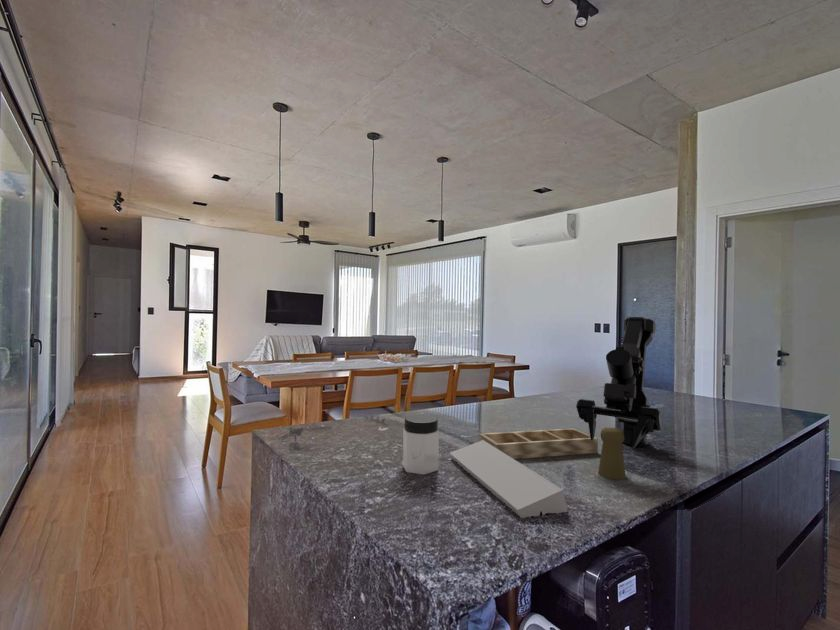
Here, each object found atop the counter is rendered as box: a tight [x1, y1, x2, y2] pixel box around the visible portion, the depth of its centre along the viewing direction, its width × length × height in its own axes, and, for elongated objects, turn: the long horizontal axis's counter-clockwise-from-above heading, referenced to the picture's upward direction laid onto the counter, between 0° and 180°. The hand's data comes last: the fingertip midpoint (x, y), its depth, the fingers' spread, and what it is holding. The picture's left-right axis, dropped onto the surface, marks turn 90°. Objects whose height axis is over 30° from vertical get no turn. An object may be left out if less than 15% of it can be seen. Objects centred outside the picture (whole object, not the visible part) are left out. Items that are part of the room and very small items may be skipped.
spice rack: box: [478, 428, 599, 460], centre depth 119 cm, size 31×11×4 cm, turn 106°
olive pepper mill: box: [597, 427, 627, 480], centre depth 101 cm, size 6×6×11 cm
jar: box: [402, 414, 440, 476], centre depth 102 cm, size 9×8×12 cm
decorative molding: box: [449, 440, 568, 519], centre depth 95 cm, size 34×5×10 cm
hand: (611, 443), depth 101 cm, fingers open, 9 cm apart
